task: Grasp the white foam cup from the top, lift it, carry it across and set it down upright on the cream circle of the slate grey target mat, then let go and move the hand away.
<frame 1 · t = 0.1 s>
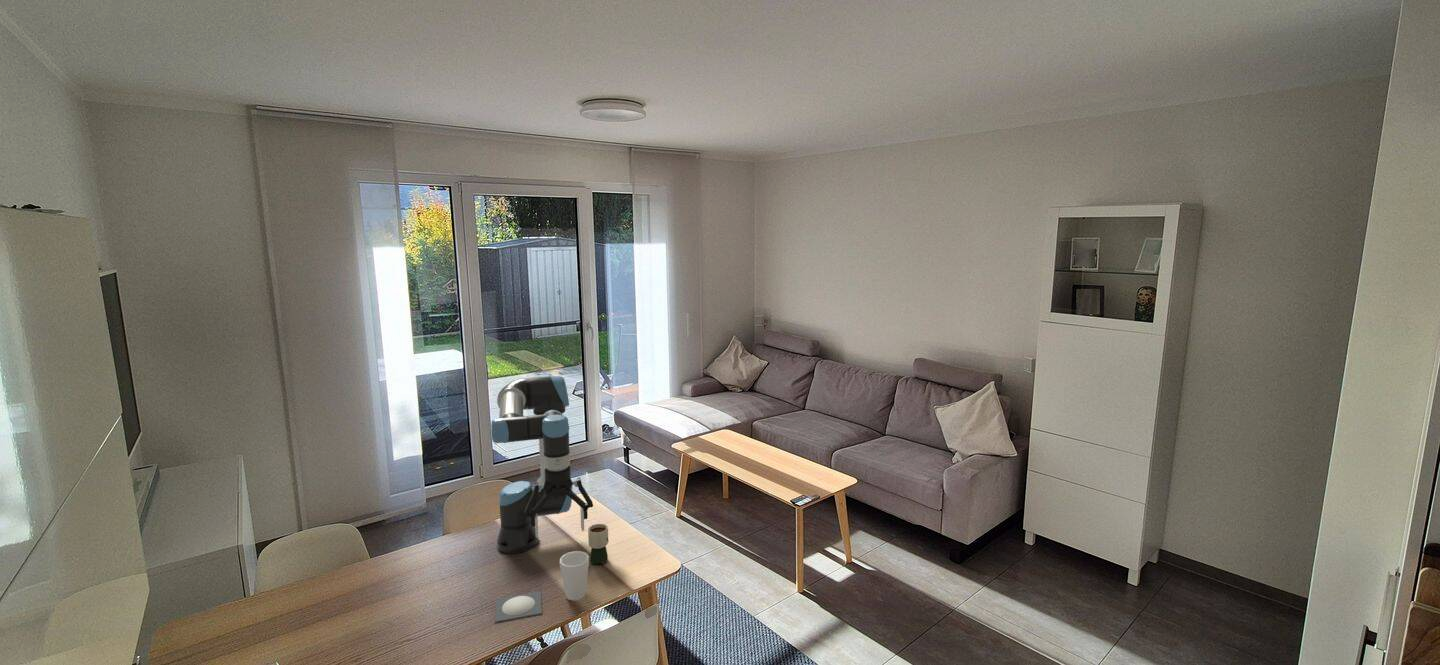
hand: (560, 532, 186), 28 cm above the table, tool pointing down, fingers open, 13 cm apart
foam cup: (575, 595, 200), on the table
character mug: (599, 561, 220), on the table
target mat: (518, 606, 194), on the table
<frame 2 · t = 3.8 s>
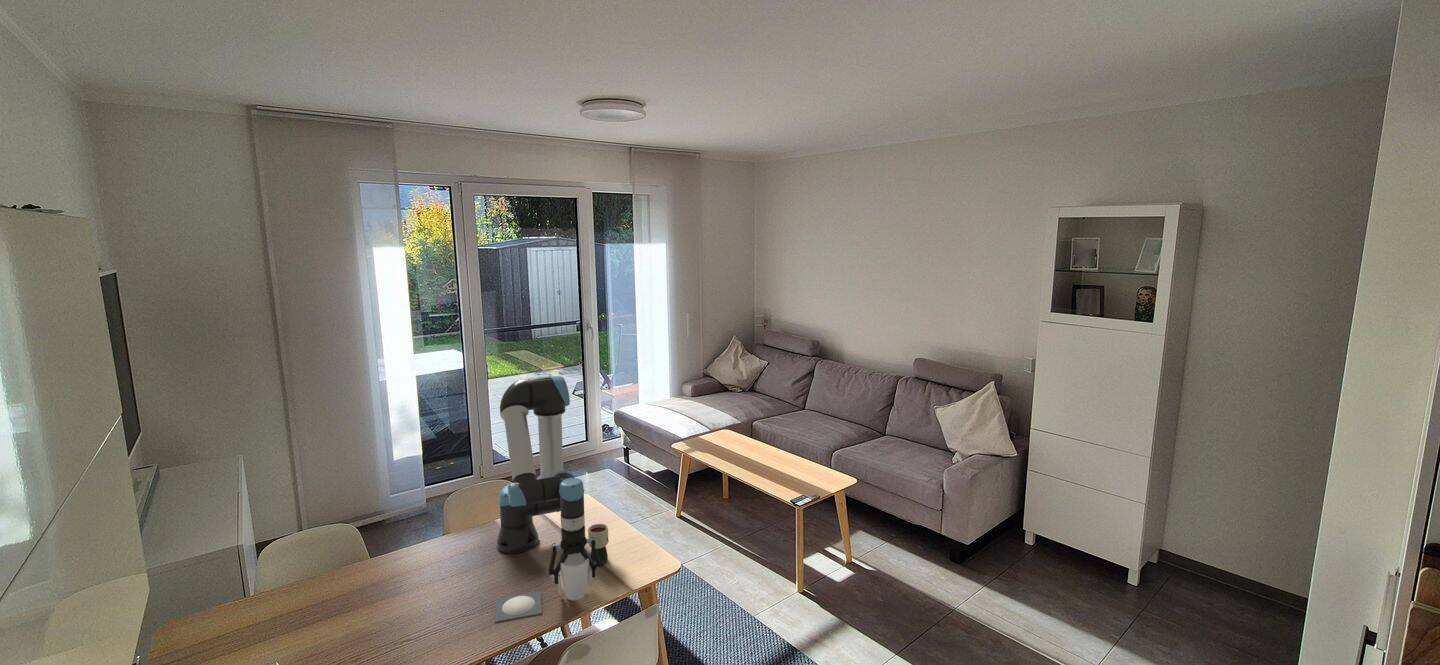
hand: (575, 589, 200), 2 cm above the table, tool pointing down, fingers closed on foam cup, 9 cm apart
foam cup: (575, 595, 200), on the table, touching gripper
everything else where it was.
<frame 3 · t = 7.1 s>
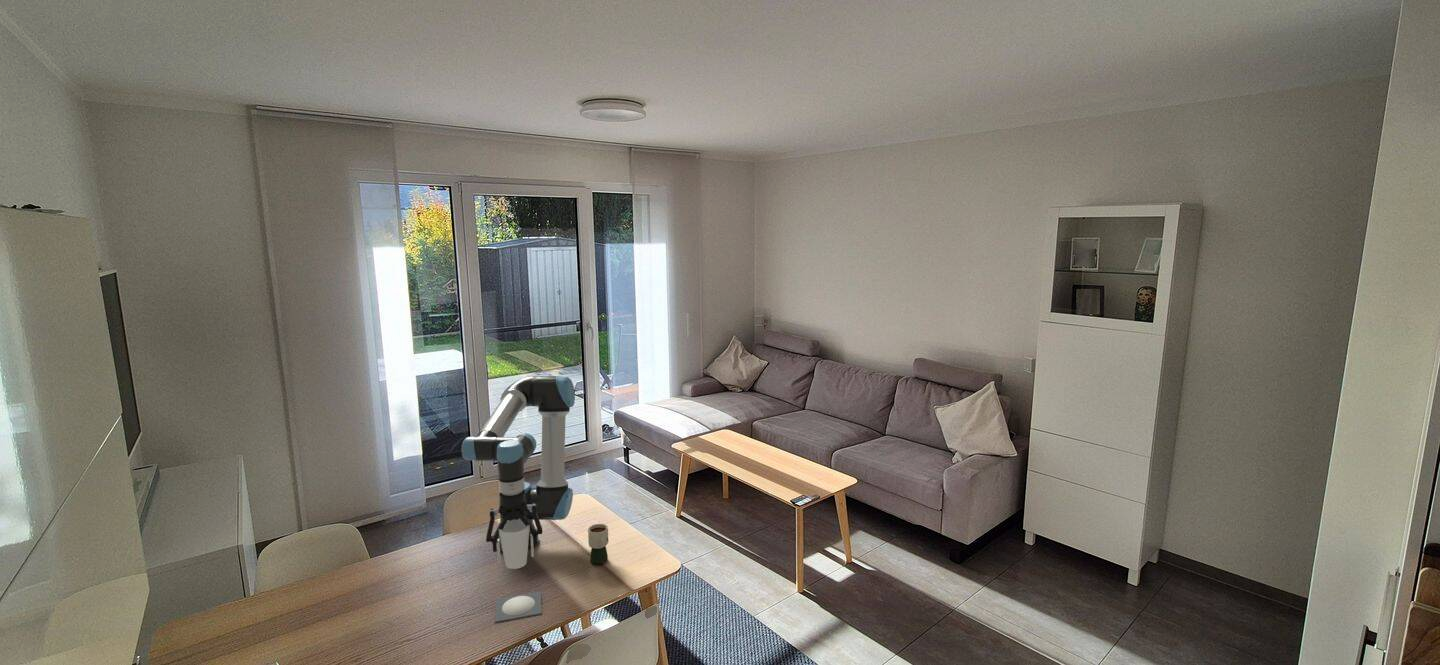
hand: (515, 557, 191), 17 cm above the table, tool pointing down, fingers closed on foam cup, 9 cm apart
foam cup: (516, 564, 191), point 15 cm above the table, touching gripper
everything else where it was.
when the fingers open (4 cm above the table, at t = 10.4 s): foam cup drops 1 cm, resting on target mat.
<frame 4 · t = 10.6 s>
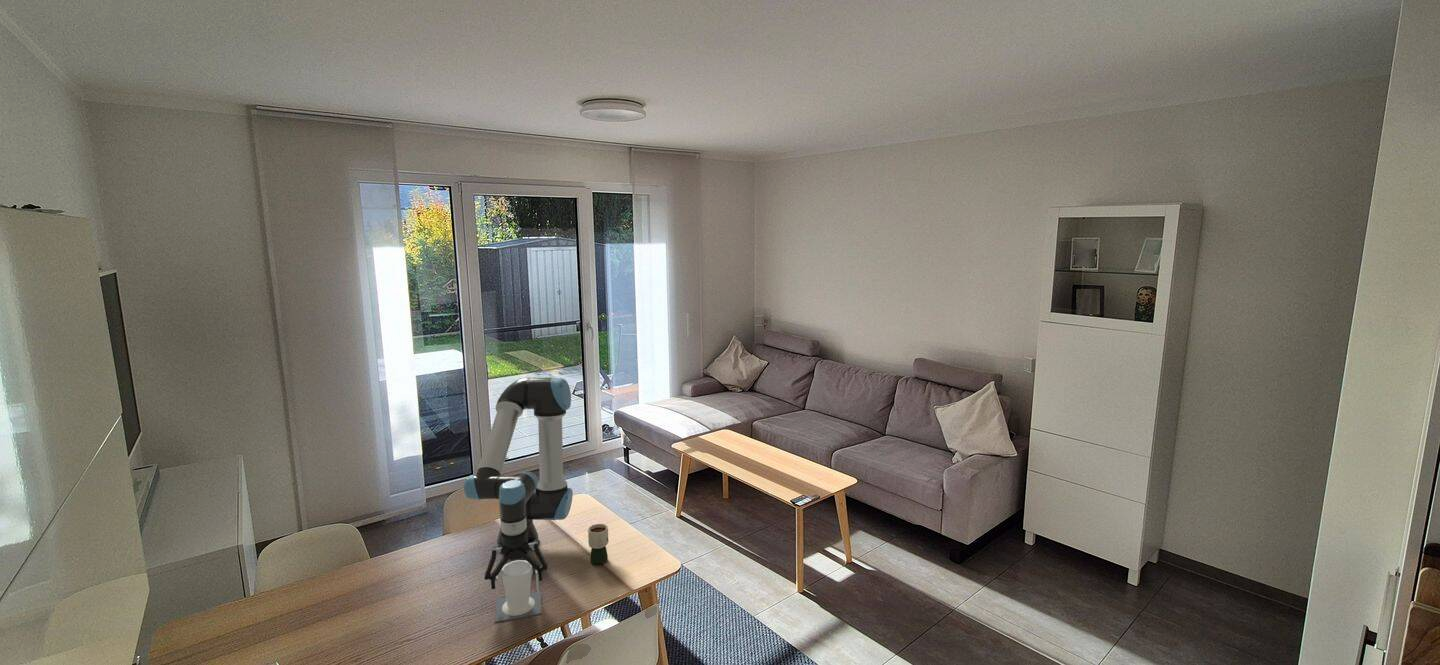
hand: (517, 593, 193), 5 cm above the table, tool pointing down, fingers open, 11 cm apart
foam cup: (518, 605, 194), resting on target mat
everything else where it was.
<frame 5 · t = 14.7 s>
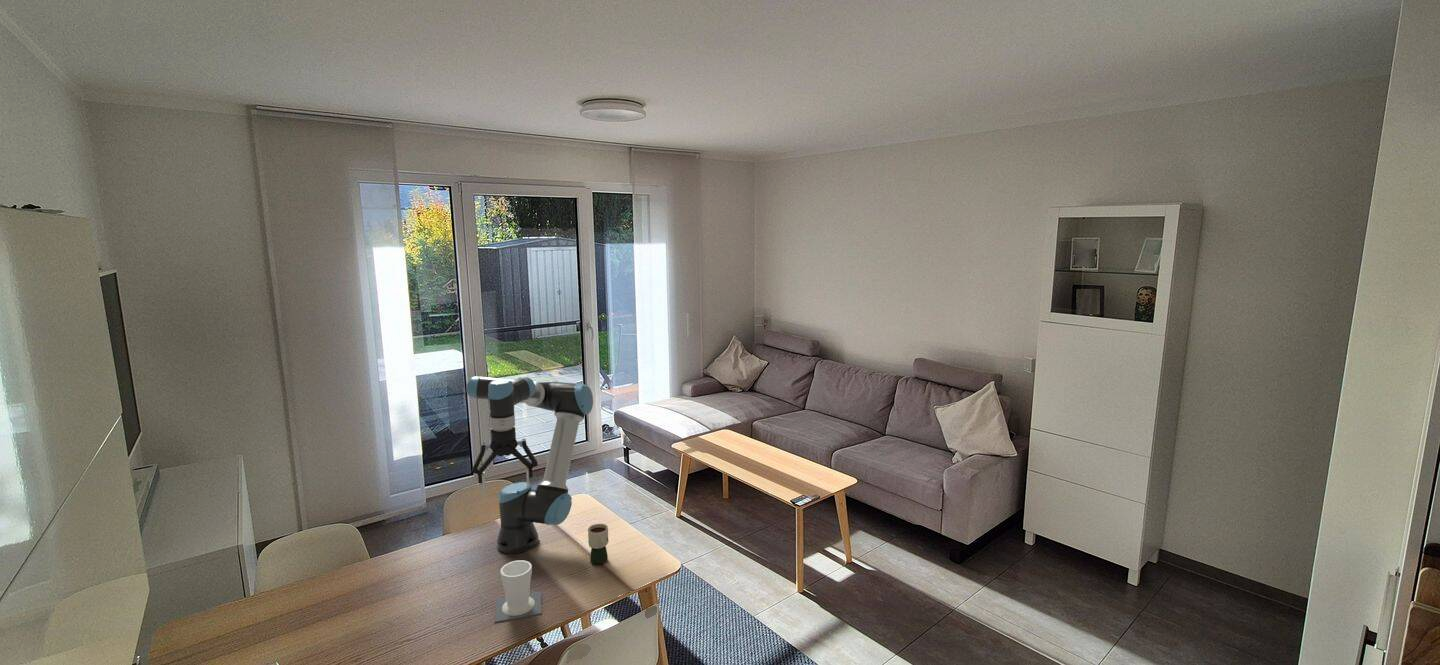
hand: (506, 489, 199), 35 cm above the table, tool pointing down, fingers open, 13 cm apart
nothing on the table moved.
at the end: foam cup inside the target area on the target mat (0.0 cm from its centre), point 0.3 cm above the target mat's base; foam cup tilted 0°; the gripper is holding nothing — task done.
